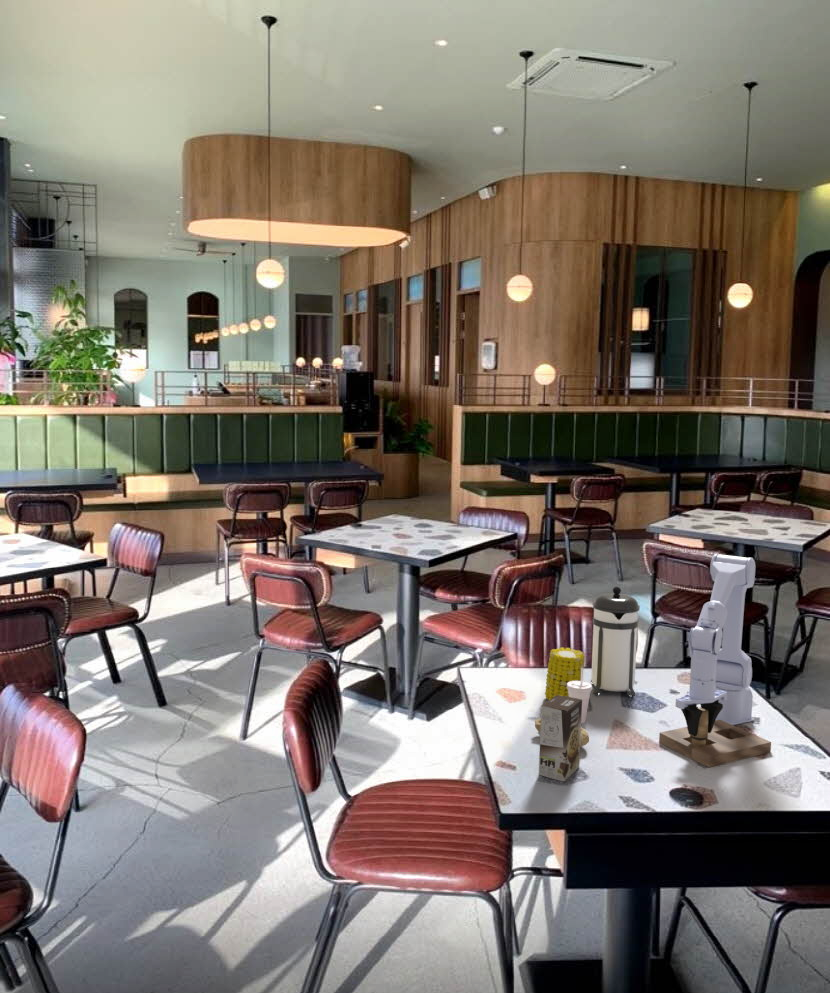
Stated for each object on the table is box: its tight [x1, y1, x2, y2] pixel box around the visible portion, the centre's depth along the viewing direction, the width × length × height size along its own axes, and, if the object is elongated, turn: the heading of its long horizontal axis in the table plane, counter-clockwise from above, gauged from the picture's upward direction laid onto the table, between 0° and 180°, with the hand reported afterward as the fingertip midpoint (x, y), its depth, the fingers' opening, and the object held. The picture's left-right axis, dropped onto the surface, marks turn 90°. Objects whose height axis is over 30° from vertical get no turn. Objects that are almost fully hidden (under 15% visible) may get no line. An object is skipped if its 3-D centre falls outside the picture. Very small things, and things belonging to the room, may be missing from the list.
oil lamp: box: [534, 718, 590, 748], centre depth 219 cm, size 11×14×5 cm
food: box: [544, 646, 585, 701], centre depth 248 cm, size 15×12×10 cm
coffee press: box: [590, 586, 641, 698], centre depth 257 cm, size 17×16×30 cm
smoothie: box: [567, 667, 593, 724], centre depth 233 cm, size 6×6×14 cm
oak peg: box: [690, 707, 708, 747], centre depth 216 cm, size 4×4×9 cm
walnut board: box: [658, 720, 772, 768], centre depth 218 cm, size 20×16×2 cm
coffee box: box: [538, 695, 582, 782], centre depth 202 cm, size 9×6×16 cm
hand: (699, 733), depth 215 cm, fingers closed on oak peg, 4 cm apart
